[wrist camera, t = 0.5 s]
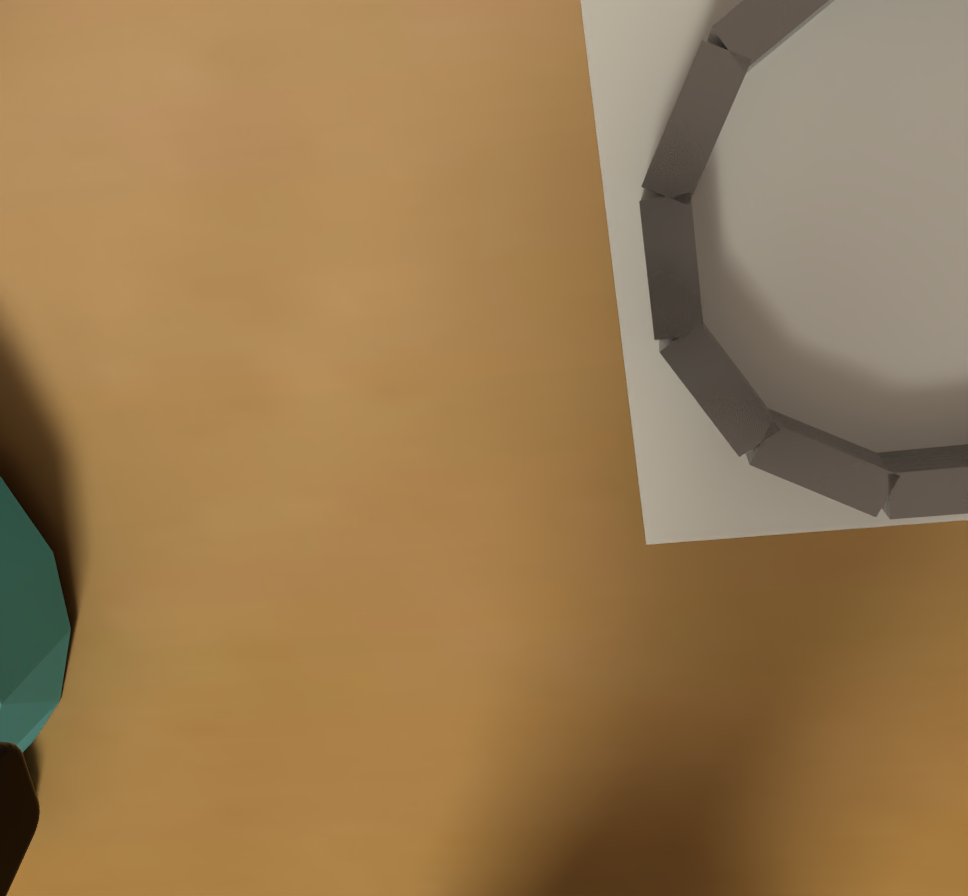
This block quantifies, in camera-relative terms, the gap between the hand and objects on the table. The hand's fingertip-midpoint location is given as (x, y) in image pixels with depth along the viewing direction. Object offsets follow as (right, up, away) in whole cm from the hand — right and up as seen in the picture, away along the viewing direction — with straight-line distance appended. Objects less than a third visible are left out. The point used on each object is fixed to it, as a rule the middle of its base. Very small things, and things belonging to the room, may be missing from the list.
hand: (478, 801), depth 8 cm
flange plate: (+9, +8, +10) cm, 16 cm away
